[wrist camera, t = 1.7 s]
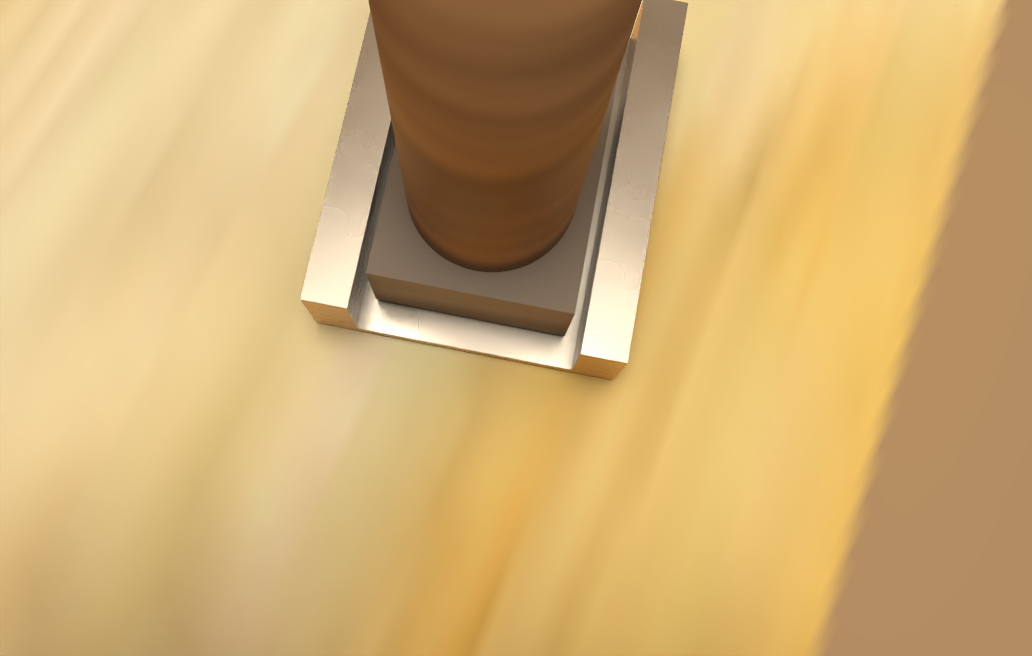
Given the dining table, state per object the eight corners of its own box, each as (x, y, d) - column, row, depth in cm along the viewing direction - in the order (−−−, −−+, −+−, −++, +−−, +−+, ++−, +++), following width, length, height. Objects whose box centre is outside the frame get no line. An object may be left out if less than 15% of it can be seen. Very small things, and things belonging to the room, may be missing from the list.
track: (611, 379, 23) (627, 363, 21) (316, 322, 23) (300, 299, 21) (668, 51, 25) (688, 3, 22) (394, -3, 25) (387, -57, 22)
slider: (564, 336, 23) (692, 64, 10) (375, 299, 23) (247, -24, 10) (606, 105, 24) (770, -413, 11) (428, 70, 24) (376, -491, 11)
